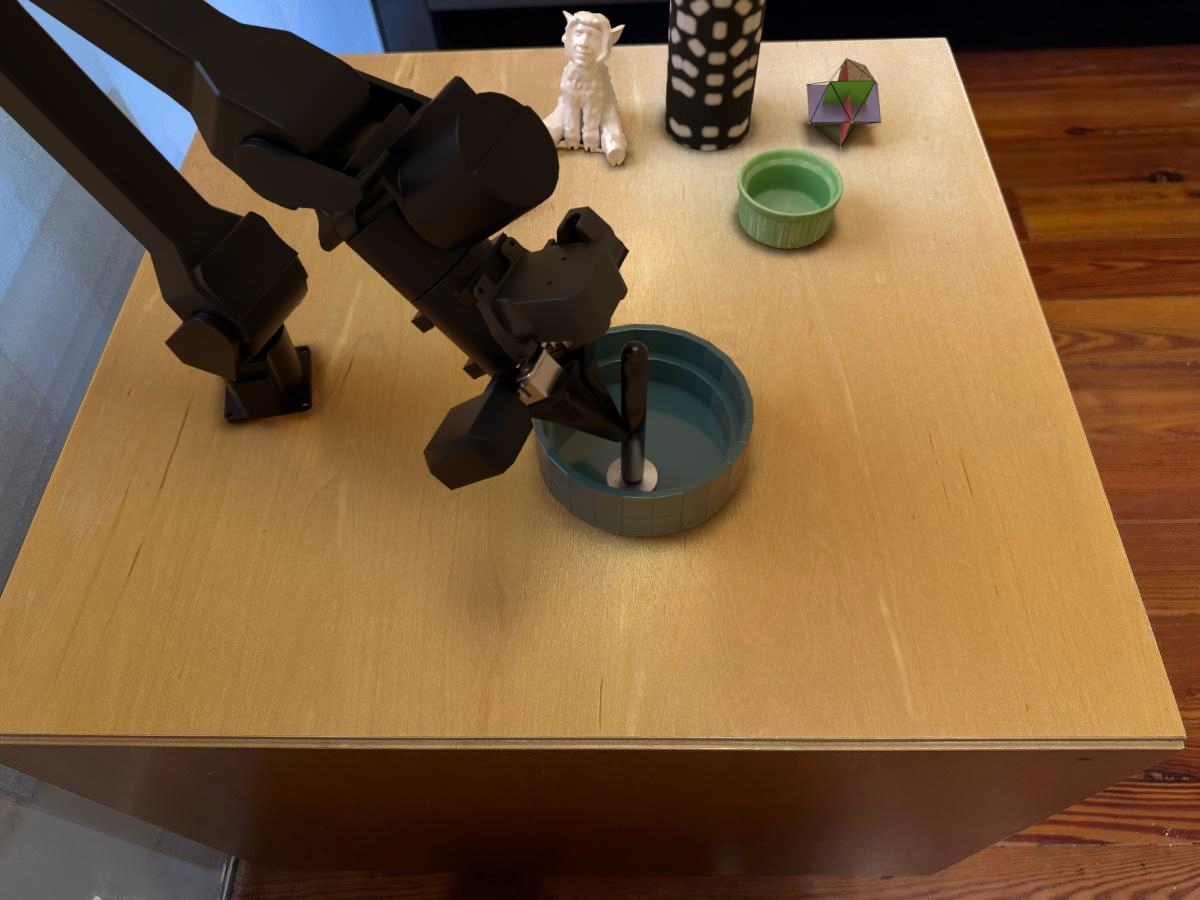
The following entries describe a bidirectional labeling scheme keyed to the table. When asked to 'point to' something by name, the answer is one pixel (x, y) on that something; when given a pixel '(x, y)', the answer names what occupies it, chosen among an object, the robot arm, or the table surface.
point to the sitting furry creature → (588, 90)
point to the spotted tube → (712, 70)
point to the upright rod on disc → (633, 424)
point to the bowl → (657, 437)
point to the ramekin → (788, 197)
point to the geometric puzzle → (845, 100)
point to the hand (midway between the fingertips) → (623, 439)
